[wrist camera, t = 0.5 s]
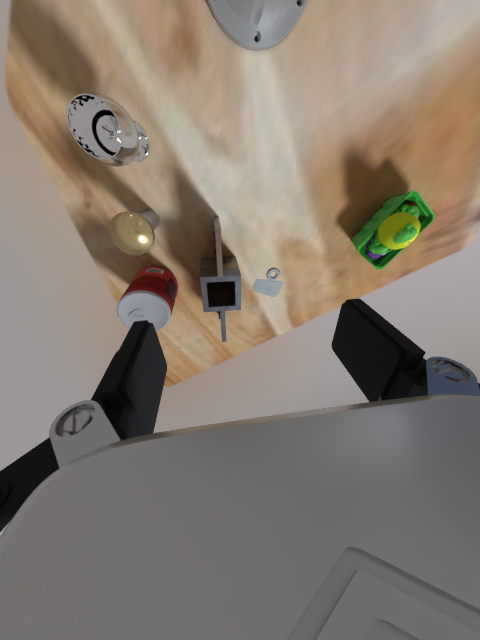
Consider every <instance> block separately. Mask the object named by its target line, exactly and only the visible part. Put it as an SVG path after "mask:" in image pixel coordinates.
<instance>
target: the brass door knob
mask: <svg viewBox="0 0 480 640" xmlns="http://www.w3.org/2000/svg"><path fill="white" fill-rule="evenodd" d="M159 222H160V220H159V217H158V215H157V214H156V213H155V212H154V211H152V210H149V209H147V210H144V211H143V212H141V213H139V214H138V213H135V212H130V211H126V212H122V213H119V214H117V215H116V216H114V217H113V218H112V220H111V221H110V224H109V234H110V237H111V240H112V241H113V243H114V244H115V245H116V247H117V248H119V249H120V250H121V251H123V252H124V253H126V254H129V255H134V256H138V255H143V254H145V253H147V252H148V251H149V250H150V249H151V247H152V246H153V244H154V240H155V235H154V230H155V229H156V228H157V227H158V225H159Z"/></svg>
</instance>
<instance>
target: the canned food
mask: <svg viewBox="0 0 480 640" xmlns="http://www.w3.org/2000/svg"><path fill="white" fill-rule="evenodd" d="M177 290H178V283H177V280H176V278H175V276H174V275H173V274H172V273H171V272H170V271H169V270H167V269H165V268H162V267H158V266H152V267H147V268H145V269H143V270H141V271H140V272H139V273H138V274H137V276H136V277H135V279H134V280H133V282H132V283H131V284H130V286H129V287H128V289H127V290H126V292H125V293H124V294H123V296H122V298H121V299H120V301H119V303H118V306H117V314H118V316H119V318H120V320H121V321H122V322H123V323H124V324H125V325H126V326H127V327H129V328H131V326H132V324H133V322H135V321H143V320H148V321H149V323H153V325H154V327H155V330H156V331H158V330H161V329H162V328H164V327H165V326H166V325H167V323H168V322H169V320H170V317H171V314H172V310H173V306H174V302H175V298H176V294H177Z"/></svg>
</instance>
